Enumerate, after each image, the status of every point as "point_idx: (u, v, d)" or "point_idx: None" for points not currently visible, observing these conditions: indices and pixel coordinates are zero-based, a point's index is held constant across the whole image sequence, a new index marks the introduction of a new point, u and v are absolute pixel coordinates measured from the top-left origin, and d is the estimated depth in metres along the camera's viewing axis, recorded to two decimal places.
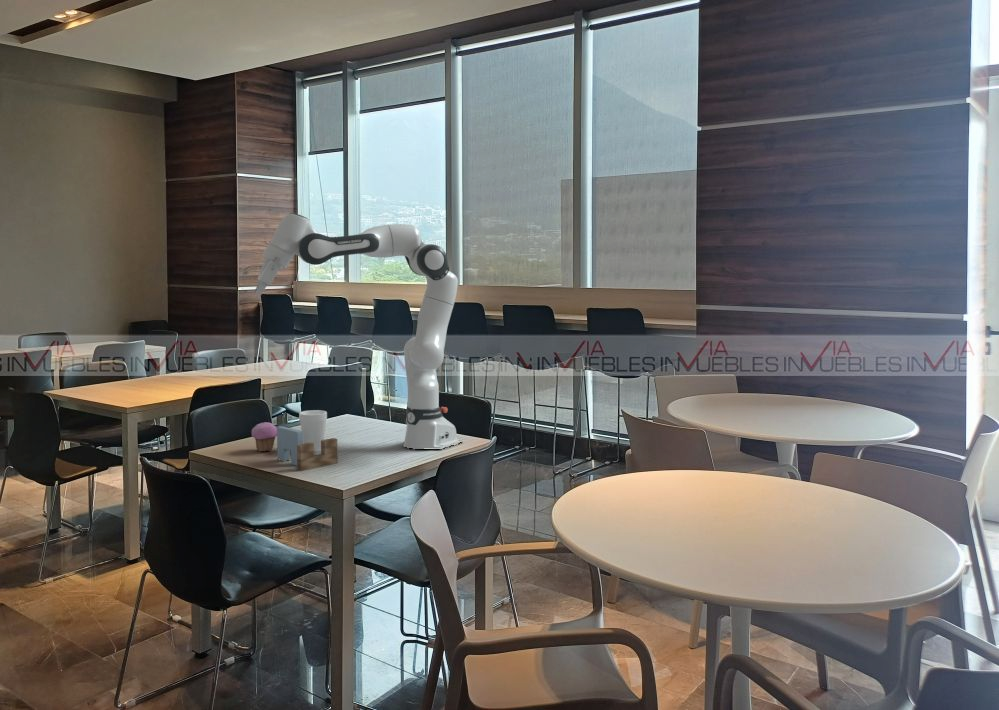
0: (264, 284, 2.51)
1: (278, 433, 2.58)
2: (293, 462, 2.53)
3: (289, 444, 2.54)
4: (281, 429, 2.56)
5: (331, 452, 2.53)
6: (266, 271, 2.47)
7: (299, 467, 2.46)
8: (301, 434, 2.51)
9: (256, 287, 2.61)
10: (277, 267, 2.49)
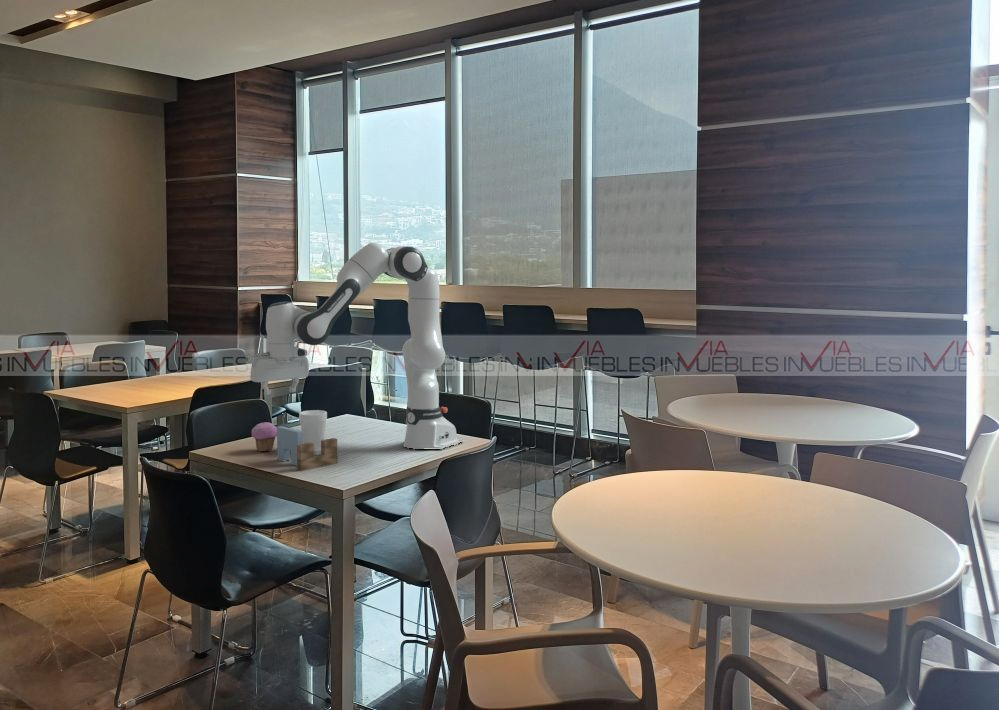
0: (263, 382, 2.51)
1: (278, 433, 2.58)
2: (293, 462, 2.53)
3: (289, 444, 2.54)
4: (281, 429, 2.56)
5: (331, 452, 2.53)
6: (251, 370, 2.49)
7: (299, 467, 2.46)
8: (301, 434, 2.51)
9: (291, 385, 2.60)
10: (257, 362, 2.47)
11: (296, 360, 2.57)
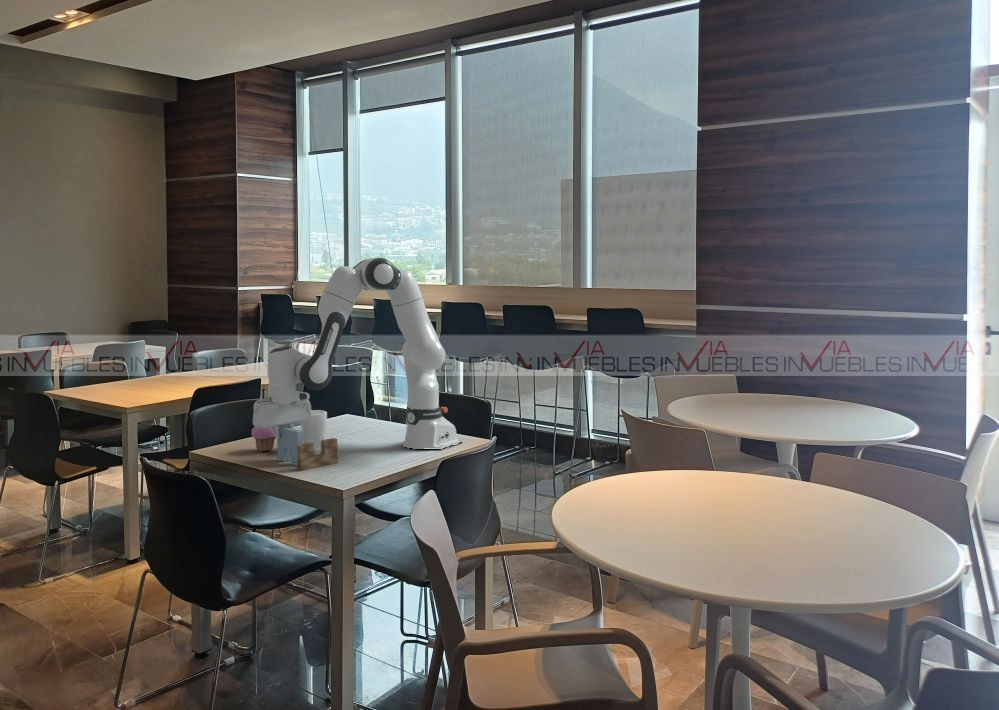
0: (273, 426, 2.55)
1: None
2: (293, 462, 2.53)
3: (289, 444, 2.54)
4: (281, 429, 2.56)
5: (331, 452, 2.53)
6: (253, 416, 2.51)
7: (299, 467, 2.46)
8: (301, 434, 2.51)
9: None
10: (258, 409, 2.49)
11: (298, 404, 2.58)
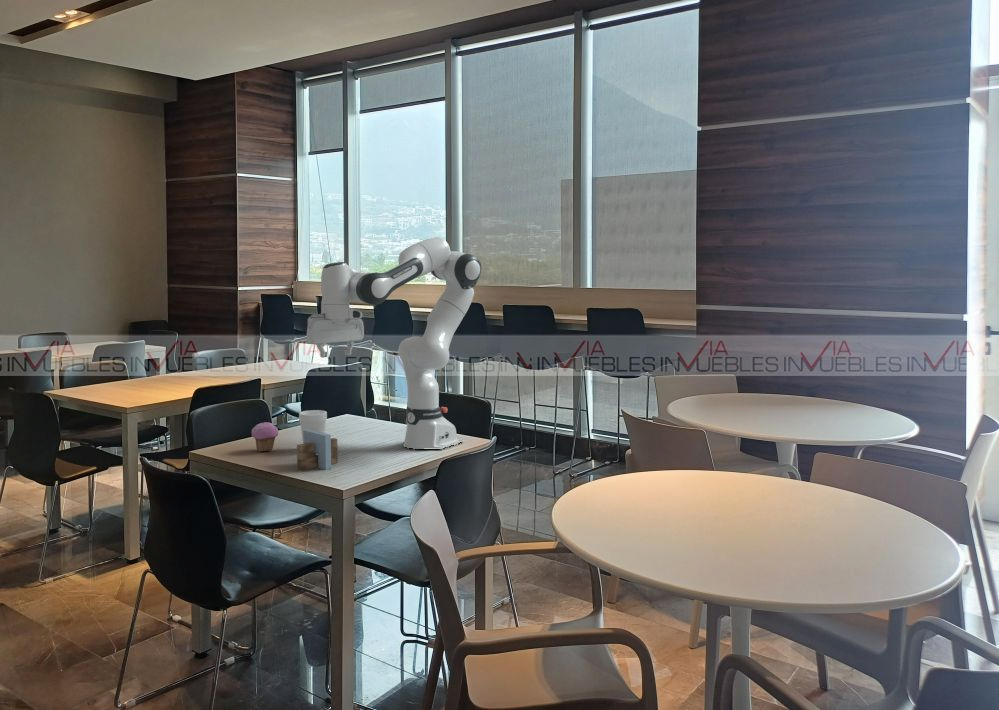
0: (319, 344, 2.46)
1: (305, 436, 2.53)
2: (320, 466, 2.48)
3: (316, 448, 2.49)
4: (308, 432, 2.52)
5: (331, 452, 2.53)
6: (307, 332, 2.44)
7: (299, 467, 2.46)
8: (328, 437, 2.46)
9: None
10: (313, 323, 2.43)
11: (351, 322, 2.52)
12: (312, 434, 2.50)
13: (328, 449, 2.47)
